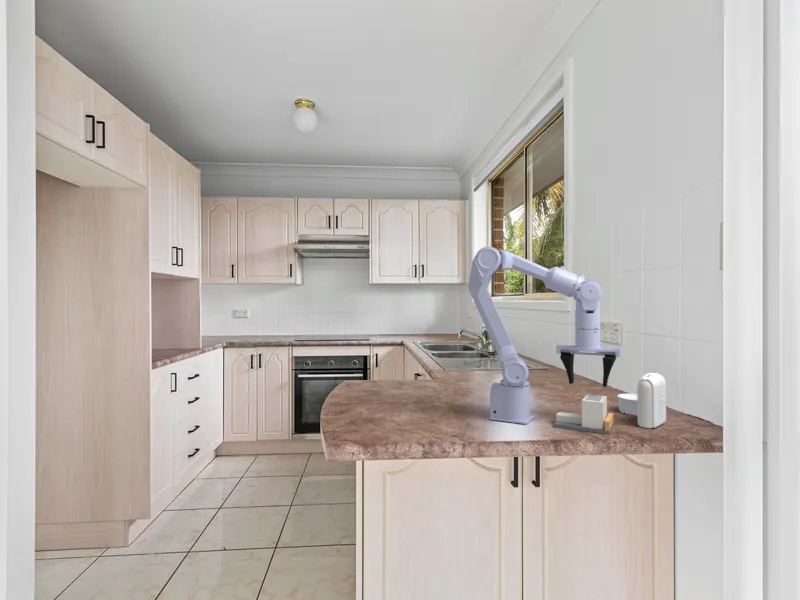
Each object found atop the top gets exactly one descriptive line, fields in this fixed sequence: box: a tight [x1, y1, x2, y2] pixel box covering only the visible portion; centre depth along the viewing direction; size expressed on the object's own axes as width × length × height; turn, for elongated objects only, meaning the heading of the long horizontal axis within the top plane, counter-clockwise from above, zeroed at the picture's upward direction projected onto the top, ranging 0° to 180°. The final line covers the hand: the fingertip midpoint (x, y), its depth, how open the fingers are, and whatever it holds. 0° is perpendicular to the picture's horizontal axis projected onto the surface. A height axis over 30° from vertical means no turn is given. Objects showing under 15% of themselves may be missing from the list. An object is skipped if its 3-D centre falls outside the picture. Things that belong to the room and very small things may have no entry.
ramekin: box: [616, 393, 638, 417], centre depth 119 cm, size 9×9×4 cm
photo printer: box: [636, 372, 667, 429], centre depth 108 cm, size 10×4×12 cm, turn 134°
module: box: [581, 393, 608, 429], centre depth 105 cm, size 4×8×6 cm, turn 149°
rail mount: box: [553, 411, 614, 435], centre depth 106 cm, size 12×9×3 cm
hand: (587, 384), depth 109 cm, fingers open, 7 cm apart
